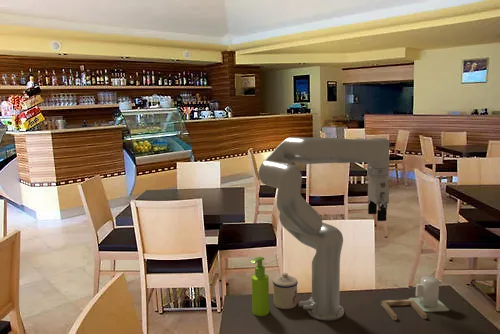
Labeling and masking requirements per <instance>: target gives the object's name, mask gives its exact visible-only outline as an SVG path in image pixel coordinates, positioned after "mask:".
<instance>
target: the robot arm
mask: <svg viewBox="0 0 500 334" xmlns="http://www.w3.org/2000/svg"><path fill="white" fill-rule="evenodd" d="M292 163H297V164H303V165H312V164H313V165H316V164H346V163H347V164H349V163H350V164H351V163H353V164H354V163H355V164H357V163H363V164H364V163H366V164H367V169H366V170H367V173H366V176H367V177H368V180H367V181H368V182H367V183H368V184H367V199H368V200H367V203H368V204H367V207H368V208H367V213H368V215H376V216H377V217H376V221H377V222H386V221H387V210H388V204H389V203H390V184H389V183H390V182H389V173H390V140H389V139H388V138H385V137H372V138H354V139H352V138H351V139H350V138H343V137H301V136H300V137H299V136H290V137H288V138H286V139H284V140H283V141H282V142H281V143H280V144H278V145H277V147H275V149H273V151H272V152H271V153H270V154H269V155H268V156H267V157H266V158H265V159H264V160H263V161H262V163H261V164H260V167H259V169H258V179H259V181H260V182H261V183H262V184H263V185H265V186H268V187H271V188H274V189H277V193H276V209H278V212H279V221H280V224H281V226H282V227H283V228H284V229H285V230H286V231H287V232H288V233H290V235H292V236H293V238H295V239H297V241H299V242H300V243H301V244H302V245H304V246H308V247H310V248H312V249H314V250H315V255H314V256H313V257H312V261H311V296H309V299H307V300H299V301H298V300H297V306H298V307H302V308H303V310H306V311H307V314H308V315H309V316H311V317H312V318H314V319H317V320H320V321H324V322H325V321H330V322H331V321H336V320H339V319H341V318H342V317H343V316H344V314H345V309H344V307H343V306H342V305H340V290H341V288H340V286H341V285H340V284H341V283H340V279H341V278H340V276H341V275H340V274H341V273H340V272H341V271H340V268H341V264H340V263H341V252H342V249H343V244H344V237H343V233H342V232H341V231H340V229H338V227H336V226H333V225H332V224H328V223H326V222H323V219H322V217H321V215H320V214H319V212H318V211H317V210H316V209H315V208H314V207H312V206H311V204H310V203H309V202H307V200H305V198H304V197H303V196H302V194H301V191H302V190H301V189H302V184H303V183H302V182H303V178H302V177H303V176H302V172H301V171H300V169H299V168H298V166H297V165H295V164H292Z"/></svg>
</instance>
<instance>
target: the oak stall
mask: <svg viewBox="0 0 500 334" xmlns="http://www.w3.org/2000/svg"><path fill="white" fill-rule="evenodd" d="M380 305H381V306H382V307H383V309H384V310H385V311H386V312H387V314H388V315H389V317H390V318H391V319H392V320H393V321H397V320H398V315H397V314H396V313H395V311H394V310H393V309H392V308H391V307H393V306H411V308H412V309H414V311H416V313H417V314H418V315H419V316H420V317H421V319H423V320H426V319H428V317H427V316H428V314H427V312H424V311H423V310H422V309H421V308H420V307H419V306H418V305H417V304H416V303H415V302H414V301H413V300H412V299H409V298H408V299H388V300H387V299H386V300H381V301H380Z"/></svg>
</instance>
